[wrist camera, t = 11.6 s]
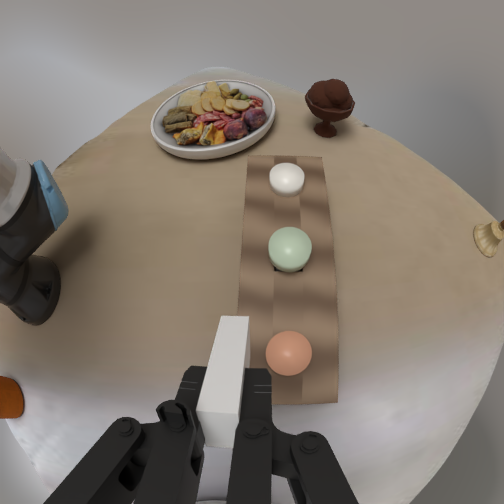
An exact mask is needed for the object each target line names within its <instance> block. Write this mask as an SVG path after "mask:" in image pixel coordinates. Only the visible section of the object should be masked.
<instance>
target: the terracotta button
mask: <svg viewBox="0 0 504 504" xmlns="http://www.w3.org/2000/svg"><path fill="white" fill-rule="evenodd" d="M311 357H312V349H311V345H310V343H309V341H308V340H307V339H306V337H304V336H303V335H302V334H300V333H298V332H295V331H284V332H280V333H278V334H277V335H275V336H274V337H273V338H272V339H271V340H270V341H269V343H268V345H267V348H266V360H267V363H268V365H269V366H270V368H271V369H272V370H273V371H275V372H276V373H278V374H281V375H285V376H291V375H296V374H298V373H300V372H302V371H303V370H304V369H305V368H306V367H307V366H308V365H309V363H310V360H311Z"/></svg>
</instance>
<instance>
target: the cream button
mask: <svg viewBox="0 0 504 504" xmlns="http://www.w3.org/2000/svg"><path fill="white" fill-rule="evenodd" d="M303 184H304V172H303V171H302V169H301V168H300V167H298V166H297V165H295V164H292V163H280V164H278V165H276V166H274V167H273V168H272V169H271V171H270V188H271V190H272V191H273V192H274V193H275V194H277V195H279V196H282V197H293V196H296V195H298V194H299V193H300V192H301V191H302V189H303Z"/></svg>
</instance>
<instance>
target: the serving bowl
mask: <svg viewBox="0 0 504 504" xmlns="http://www.w3.org/2000/svg"><path fill="white" fill-rule="evenodd" d="M226 502H227V501H218V500H210V501H199V502H196V504H226Z"/></svg>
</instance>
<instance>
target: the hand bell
mask: <svg viewBox="0 0 504 504" xmlns="http://www.w3.org/2000/svg"><path fill="white" fill-rule="evenodd" d="M503 230H504V220H503V221H502V222H501V223H500V224H499V223H498V222H497V221H493V222H492V223H490V224H488V225H484V224H478V225H476V226H475V228H474V240H475V243H476V245H477V247H478V249H479V250H480V251H481V253H483V254H484V255H485V256H487V257H493V256H494V255H495V254H496V251H497V245H498V243H499V242H500V241H501V240H502V239H503V237H504V231H503Z"/></svg>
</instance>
